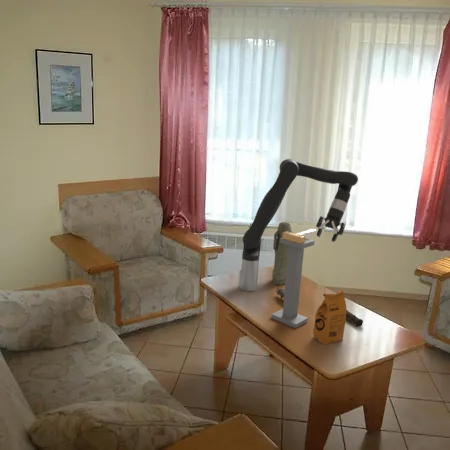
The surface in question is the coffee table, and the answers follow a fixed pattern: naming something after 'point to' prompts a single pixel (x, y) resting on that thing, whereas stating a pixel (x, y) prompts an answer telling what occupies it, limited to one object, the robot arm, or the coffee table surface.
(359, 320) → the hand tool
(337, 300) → the coffee package
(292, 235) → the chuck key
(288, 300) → the headphone stand
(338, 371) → the coffee table surface
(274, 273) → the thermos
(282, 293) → the rhino figurine
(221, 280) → the coffee table surface
